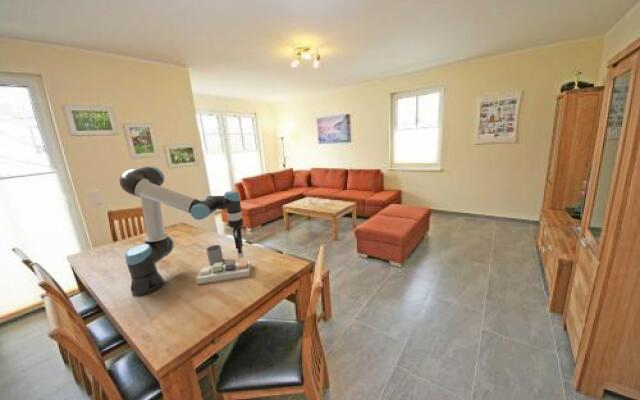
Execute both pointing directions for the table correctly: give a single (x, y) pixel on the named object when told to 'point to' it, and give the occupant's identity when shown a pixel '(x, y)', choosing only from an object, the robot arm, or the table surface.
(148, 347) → the table surface
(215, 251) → the cup
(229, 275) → the keypad
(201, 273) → the key cream
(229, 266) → the key charcoal
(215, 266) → the key sage
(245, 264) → the key terracotta
